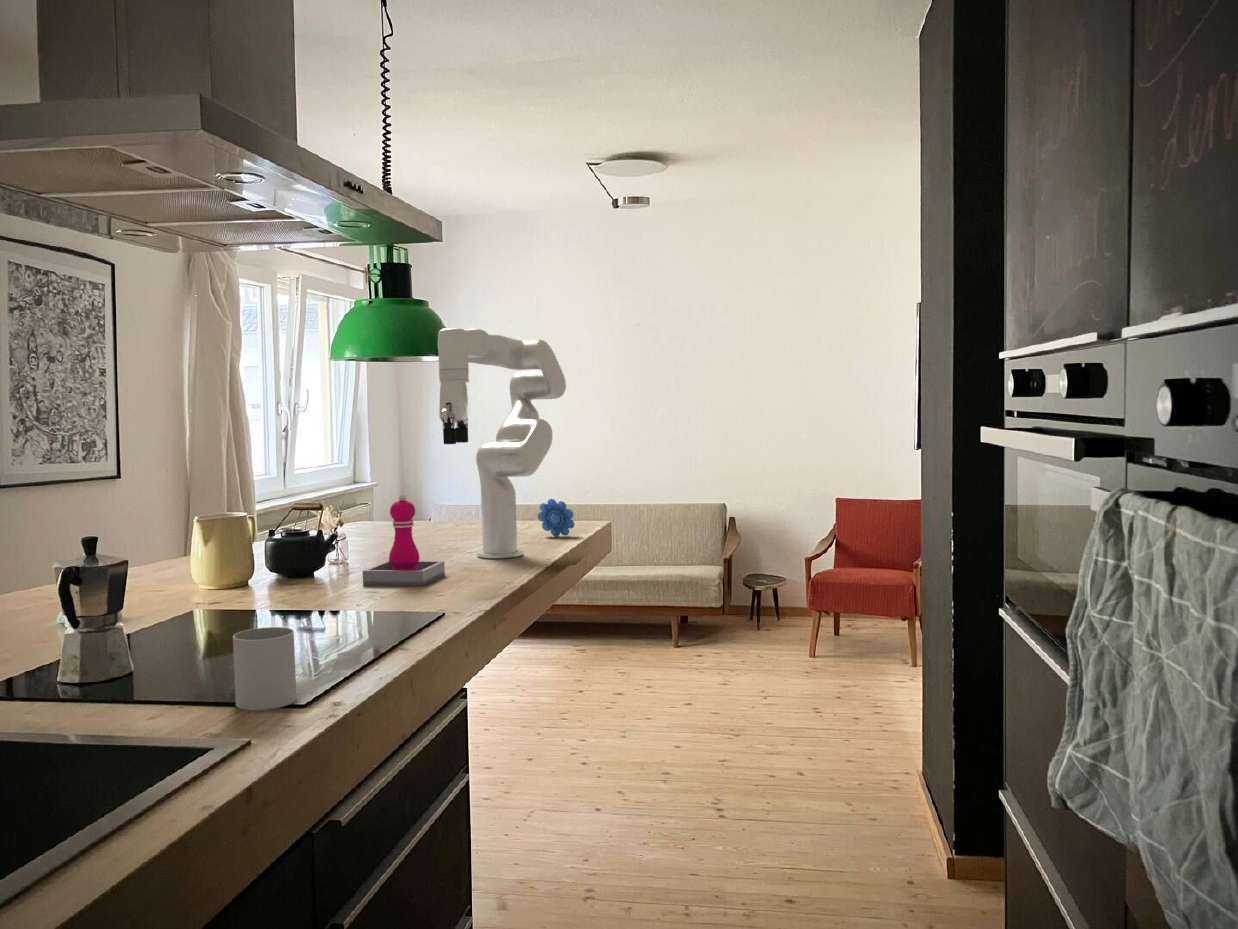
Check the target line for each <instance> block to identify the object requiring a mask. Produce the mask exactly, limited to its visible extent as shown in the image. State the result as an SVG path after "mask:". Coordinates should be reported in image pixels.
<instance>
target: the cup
mask: <svg viewBox="0 0 1238 929" xmlns="http://www.w3.org/2000/svg"><path fill="white" fill-rule="evenodd" d="M232 646H233V647H232V648H233V649H232V650H233V652H232V653H233V673H234V674H233V675H234V691H235V692H234V694H235V707H237V708H238V709H240V710H244V711H267V710H273V709H278V708H279V709H280V708H283V707H286V706H289V705H292V704H293V703H295V702H296V701H297V676H296V673H297V672H296V654H295V651H296V650H295V632H294V629H292V628H289V627H278V626H276V627H275V626H273V627H269V626H268V627H259V628H251V629H247V630H242V631H239V632H237V633H234V634H233V636H232Z"/></svg>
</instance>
